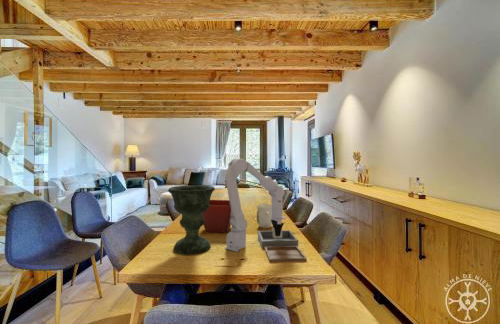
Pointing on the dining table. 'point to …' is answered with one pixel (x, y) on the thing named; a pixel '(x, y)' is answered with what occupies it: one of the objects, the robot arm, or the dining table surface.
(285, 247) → the tray
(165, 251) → the dining table surface
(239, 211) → the robot arm
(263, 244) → the bin
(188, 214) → the goblet
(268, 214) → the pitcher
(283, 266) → the dining table surface
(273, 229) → the block
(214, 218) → the plant pot
